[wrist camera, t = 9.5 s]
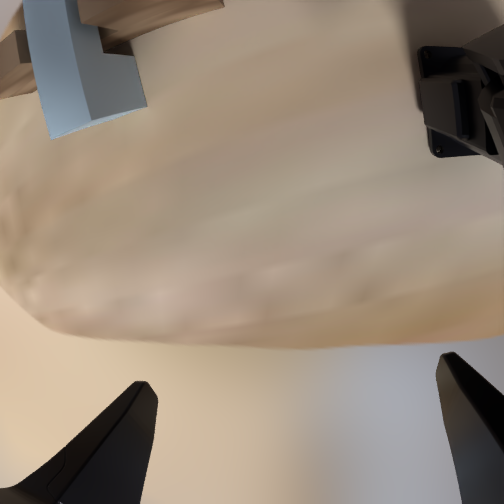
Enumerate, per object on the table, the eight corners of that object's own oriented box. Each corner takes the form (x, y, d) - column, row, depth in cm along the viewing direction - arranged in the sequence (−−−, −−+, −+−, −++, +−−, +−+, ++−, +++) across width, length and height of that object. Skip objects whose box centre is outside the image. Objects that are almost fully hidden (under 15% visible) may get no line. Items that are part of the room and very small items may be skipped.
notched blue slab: (114, -32, 12) (58, -57, 7) (147, 106, 16) (91, 120, 11) (81, -14, 12) (20, -30, 7) (112, 119, 17) (51, 139, 12)
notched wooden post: (216, -22, 12) (185, -63, 7) (224, 7, 13) (195, -27, 8) (27, 68, 15) (-37, 78, 10) (32, 92, 16) (-31, 107, 11)
